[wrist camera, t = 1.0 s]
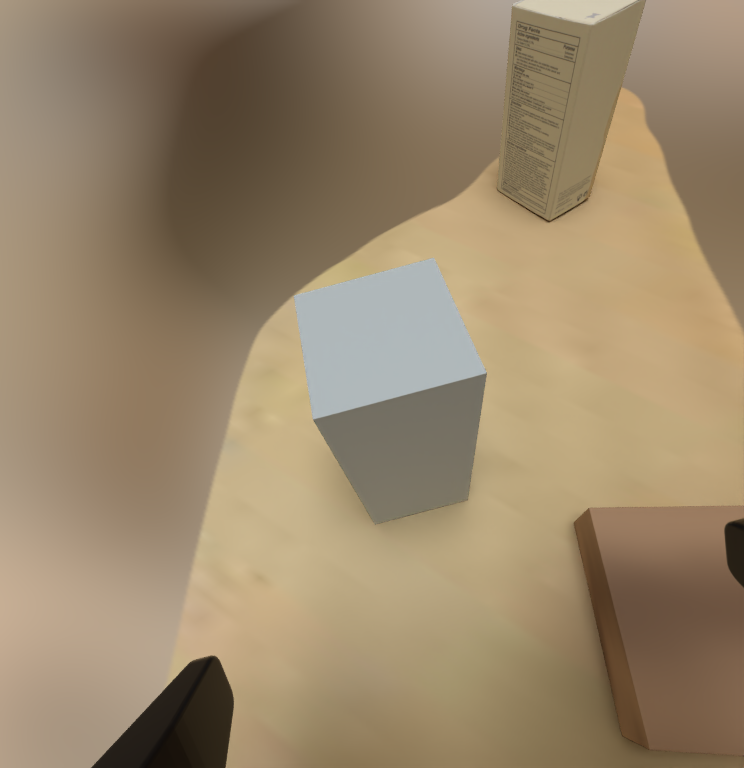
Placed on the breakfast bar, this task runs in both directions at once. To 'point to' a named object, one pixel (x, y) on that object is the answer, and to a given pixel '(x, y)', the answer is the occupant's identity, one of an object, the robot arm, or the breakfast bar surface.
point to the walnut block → (669, 623)
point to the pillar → (394, 387)
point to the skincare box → (561, 97)
